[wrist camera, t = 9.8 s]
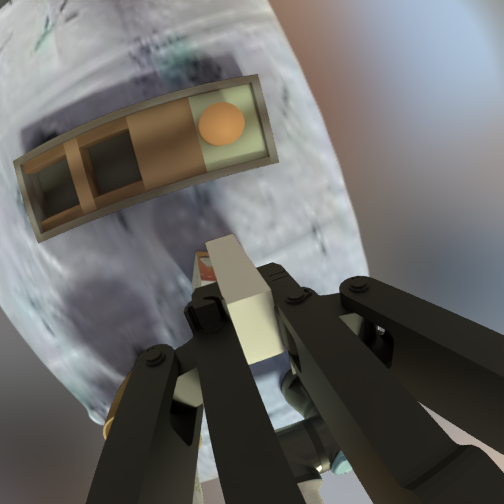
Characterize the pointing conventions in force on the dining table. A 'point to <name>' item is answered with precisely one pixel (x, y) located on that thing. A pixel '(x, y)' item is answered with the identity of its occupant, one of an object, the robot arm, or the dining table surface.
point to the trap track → (140, 155)
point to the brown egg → (221, 124)
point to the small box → (202, 270)
